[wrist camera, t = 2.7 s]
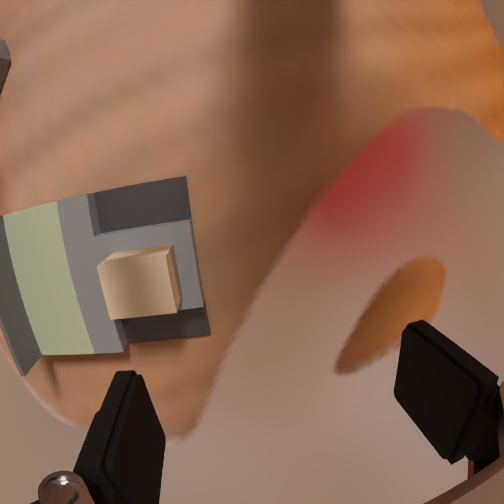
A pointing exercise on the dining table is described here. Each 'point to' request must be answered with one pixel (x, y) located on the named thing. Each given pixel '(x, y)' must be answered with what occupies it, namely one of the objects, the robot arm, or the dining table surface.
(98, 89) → the dining table surface
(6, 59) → the coffeepot
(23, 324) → the multicoloured piece
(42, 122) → the dining table surface
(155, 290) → the maple block
